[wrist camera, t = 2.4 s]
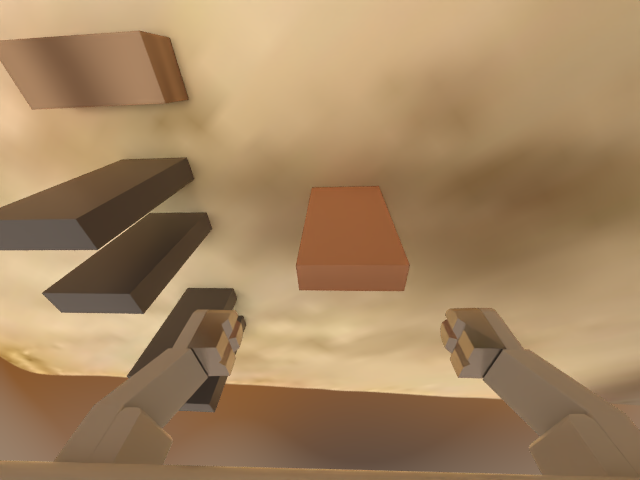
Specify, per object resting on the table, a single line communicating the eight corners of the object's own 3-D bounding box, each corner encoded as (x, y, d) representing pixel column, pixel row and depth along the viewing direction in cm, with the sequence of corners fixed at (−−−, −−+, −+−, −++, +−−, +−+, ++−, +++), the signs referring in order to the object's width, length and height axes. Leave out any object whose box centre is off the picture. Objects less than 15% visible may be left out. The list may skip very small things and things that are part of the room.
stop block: (169, 37, 13) (139, 30, 11) (188, 99, 15) (165, 103, 13) (39, 46, 14) (-13, 41, 12) (72, 105, 16) (32, 109, 14)
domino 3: (187, 288, 25) (126, 376, 18) (233, 288, 25) (190, 378, 18) (192, 298, 26) (137, 386, 19) (237, 299, 26) (197, 388, 18)
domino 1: (122, 159, 18) (-33, 220, 10) (186, 157, 17) (75, 219, 10) (132, 180, 18) (-3, 250, 11) (194, 179, 18) (97, 249, 11)
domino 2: (149, 213, 20) (41, 293, 13) (206, 212, 20) (129, 293, 12) (157, 229, 21) (61, 312, 14) (212, 228, 21) (143, 313, 13)
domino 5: (311, 187, 18) (296, 265, 11) (378, 186, 18) (409, 265, 10) (313, 206, 19) (299, 290, 12) (376, 205, 19) (403, 291, 11)
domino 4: (201, 315, 28) (153, 402, 20) (243, 316, 27) (209, 404, 20) (205, 323, 29) (161, 409, 21) (246, 324, 28) (214, 412, 21)
